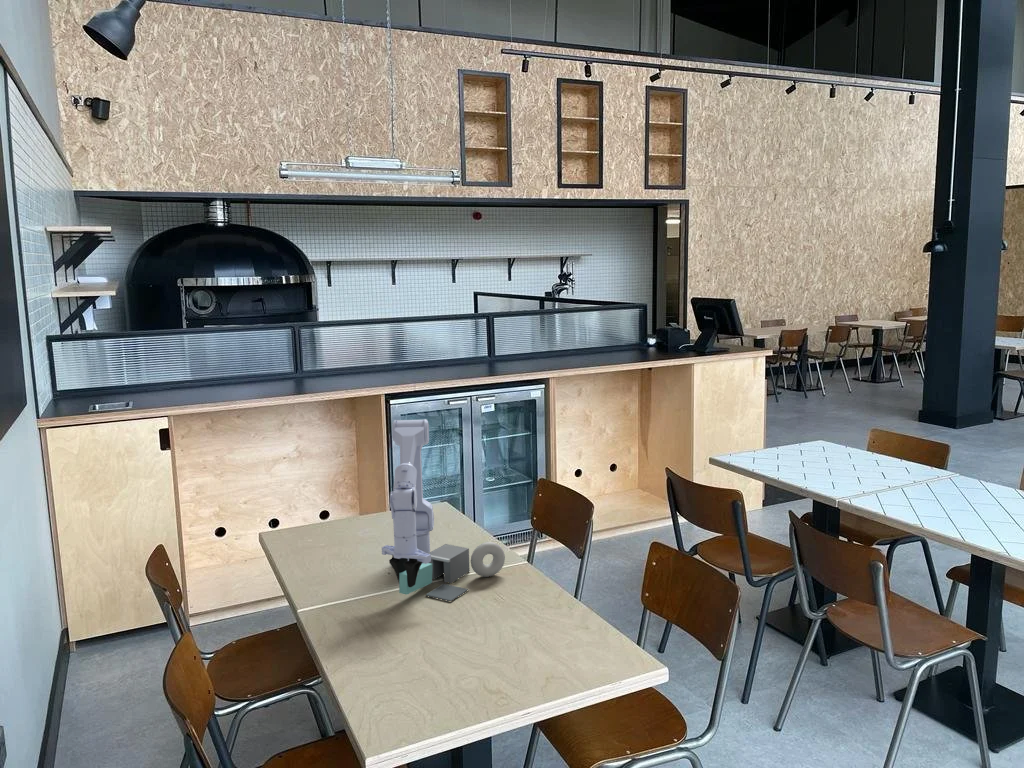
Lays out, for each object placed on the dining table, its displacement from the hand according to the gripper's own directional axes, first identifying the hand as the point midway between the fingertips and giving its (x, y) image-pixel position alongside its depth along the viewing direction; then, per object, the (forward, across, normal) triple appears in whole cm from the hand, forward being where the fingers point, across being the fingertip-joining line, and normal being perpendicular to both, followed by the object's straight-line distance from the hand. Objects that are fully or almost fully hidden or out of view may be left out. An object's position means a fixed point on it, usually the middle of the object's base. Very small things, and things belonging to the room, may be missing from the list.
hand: (407, 584), depth 198 cm
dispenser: (+4, 0, +18) cm, 18 cm away
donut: (+4, +10, +23) cm, 25 cm away
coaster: (+4, +7, +8) cm, 11 cm away
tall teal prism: (+2, 0, +4) cm, 4 cm away
